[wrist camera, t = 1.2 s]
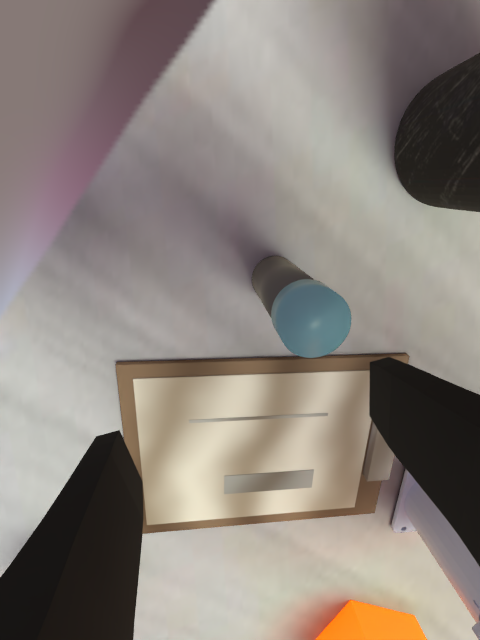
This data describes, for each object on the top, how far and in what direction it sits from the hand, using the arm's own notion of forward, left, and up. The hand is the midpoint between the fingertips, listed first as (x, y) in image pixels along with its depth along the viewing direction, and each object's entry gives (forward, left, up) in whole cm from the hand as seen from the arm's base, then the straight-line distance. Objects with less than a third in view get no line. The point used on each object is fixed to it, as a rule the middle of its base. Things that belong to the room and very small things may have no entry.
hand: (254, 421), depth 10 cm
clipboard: (-3, +12, -12) cm, 17 cm away
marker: (-3, -1, -12) cm, 13 cm away
